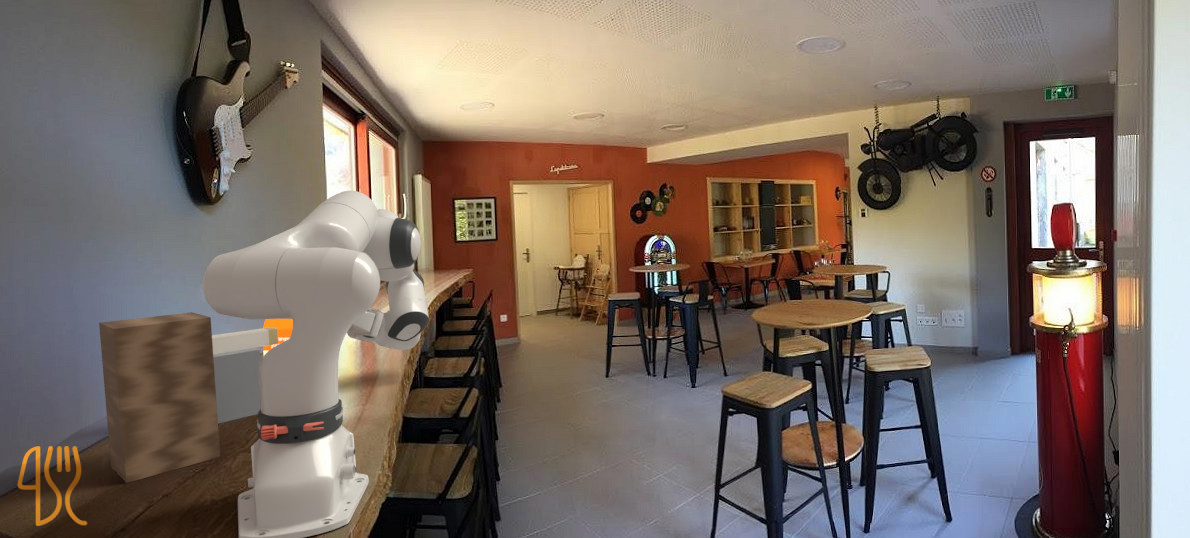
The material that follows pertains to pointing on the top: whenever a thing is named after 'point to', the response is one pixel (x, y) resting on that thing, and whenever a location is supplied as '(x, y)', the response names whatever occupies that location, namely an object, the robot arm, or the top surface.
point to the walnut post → (159, 393)
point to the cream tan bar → (244, 340)
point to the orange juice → (279, 330)
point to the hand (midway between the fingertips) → (312, 307)
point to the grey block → (237, 384)
